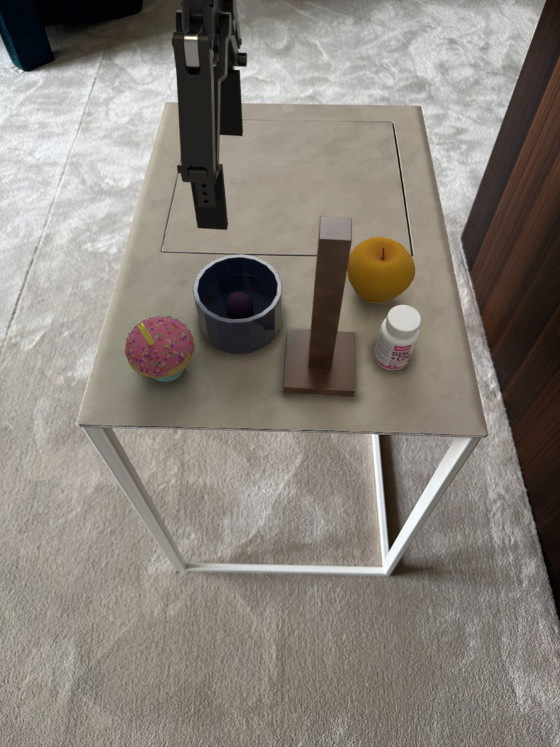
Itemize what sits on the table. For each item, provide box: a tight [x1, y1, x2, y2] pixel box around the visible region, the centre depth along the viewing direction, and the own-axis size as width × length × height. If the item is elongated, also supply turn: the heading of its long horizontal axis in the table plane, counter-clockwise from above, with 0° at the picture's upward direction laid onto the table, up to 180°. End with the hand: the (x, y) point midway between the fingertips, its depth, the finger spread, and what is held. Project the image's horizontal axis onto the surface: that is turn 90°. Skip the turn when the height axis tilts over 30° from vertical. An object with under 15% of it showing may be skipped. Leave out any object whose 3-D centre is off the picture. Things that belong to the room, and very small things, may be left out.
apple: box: [346, 236, 416, 305], centre depth 74 cm, size 9×9×9 cm
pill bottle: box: [373, 304, 422, 371], centre depth 68 cm, size 5×5×8 cm
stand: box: [282, 216, 356, 398], centre depth 61 cm, size 9×9×24 cm
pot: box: [192, 253, 283, 355], centre depth 72 cm, size 11×11×7 cm
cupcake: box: [124, 315, 196, 383], centre depth 66 cm, size 9×8×12 cm
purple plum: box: [226, 292, 254, 320], centre depth 72 cm, size 4×4×5 cm
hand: (221, 177), depth 53 cm, fingers open, 13 cm apart
